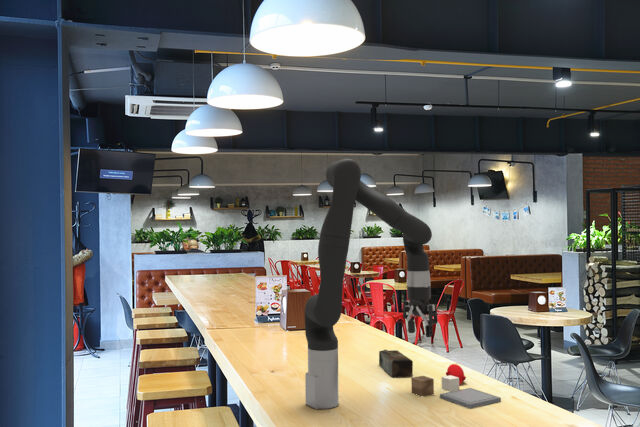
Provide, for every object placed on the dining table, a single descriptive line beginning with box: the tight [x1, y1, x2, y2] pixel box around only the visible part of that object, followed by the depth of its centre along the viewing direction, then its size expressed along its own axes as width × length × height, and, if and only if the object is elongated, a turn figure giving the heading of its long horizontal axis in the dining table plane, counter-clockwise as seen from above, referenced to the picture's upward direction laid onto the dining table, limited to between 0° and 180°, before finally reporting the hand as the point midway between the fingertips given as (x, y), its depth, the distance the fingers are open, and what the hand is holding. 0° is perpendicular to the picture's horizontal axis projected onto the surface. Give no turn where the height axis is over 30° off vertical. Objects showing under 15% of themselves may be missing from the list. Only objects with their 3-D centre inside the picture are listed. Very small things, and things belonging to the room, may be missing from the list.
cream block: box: [441, 375, 460, 392], centre depth 199 cm, size 4×4×4 cm
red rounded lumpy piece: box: [445, 363, 467, 386], centre depth 207 cm, size 8×6×6 cm
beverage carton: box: [378, 349, 414, 378], centre depth 224 cm, size 8×19×7 cm, turn 9°
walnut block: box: [410, 375, 435, 397], centre depth 194 cm, size 5×5×5 cm
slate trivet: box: [439, 387, 502, 409], centre depth 187 cm, size 13×13×1 cm
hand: (420, 334), depth 195 cm, fingers open, 8 cm apart
